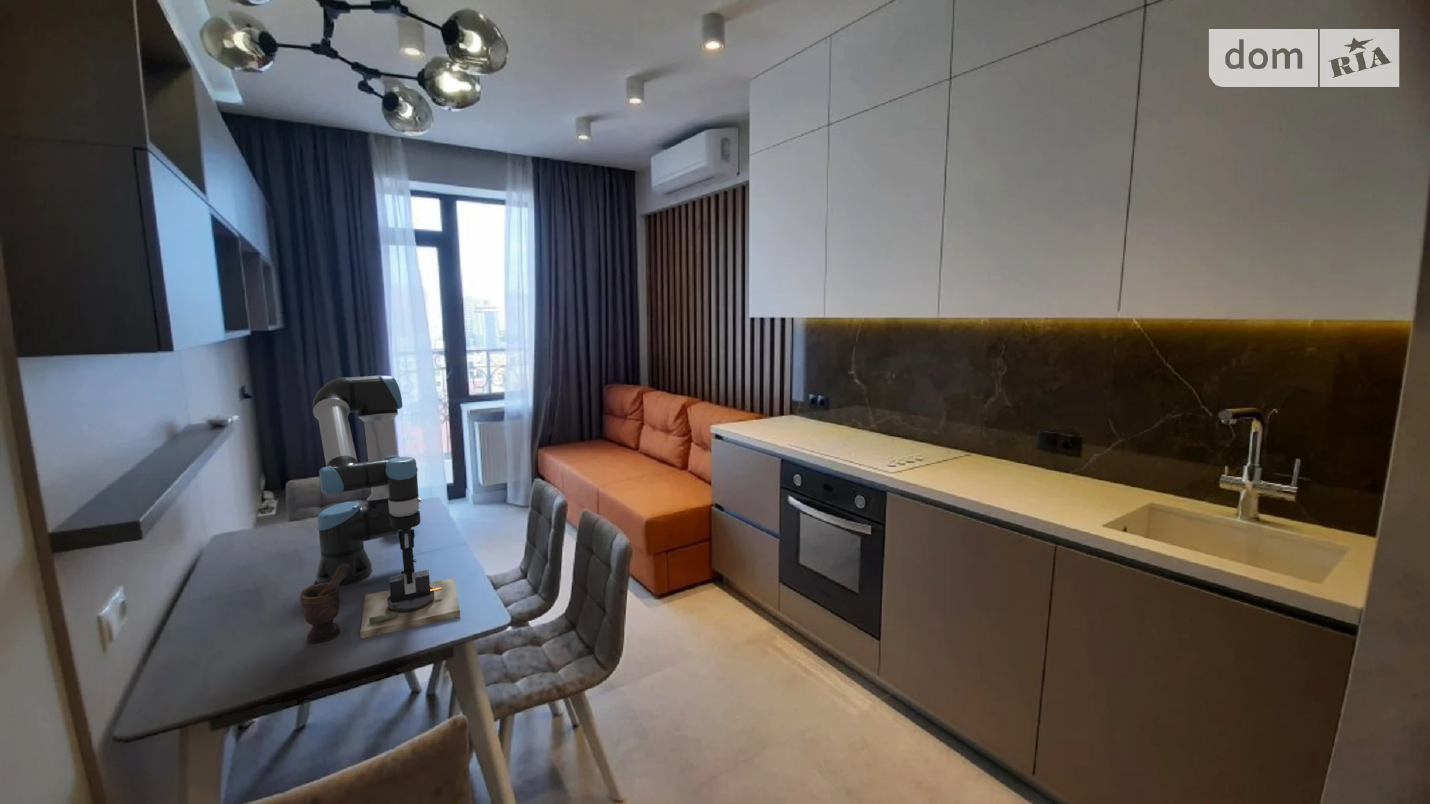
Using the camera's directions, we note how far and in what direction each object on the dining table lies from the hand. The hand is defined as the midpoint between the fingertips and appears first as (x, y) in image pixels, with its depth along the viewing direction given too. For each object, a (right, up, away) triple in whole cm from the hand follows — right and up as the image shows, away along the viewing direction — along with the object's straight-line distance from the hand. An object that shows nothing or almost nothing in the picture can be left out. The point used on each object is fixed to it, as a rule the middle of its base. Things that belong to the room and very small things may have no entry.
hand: (410, 589), depth 162 cm
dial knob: (+1, -4, +1) cm, 4 cm away
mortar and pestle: (-14, -8, -12) cm, 21 cm away
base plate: (0, -6, +1) cm, 6 cm away
